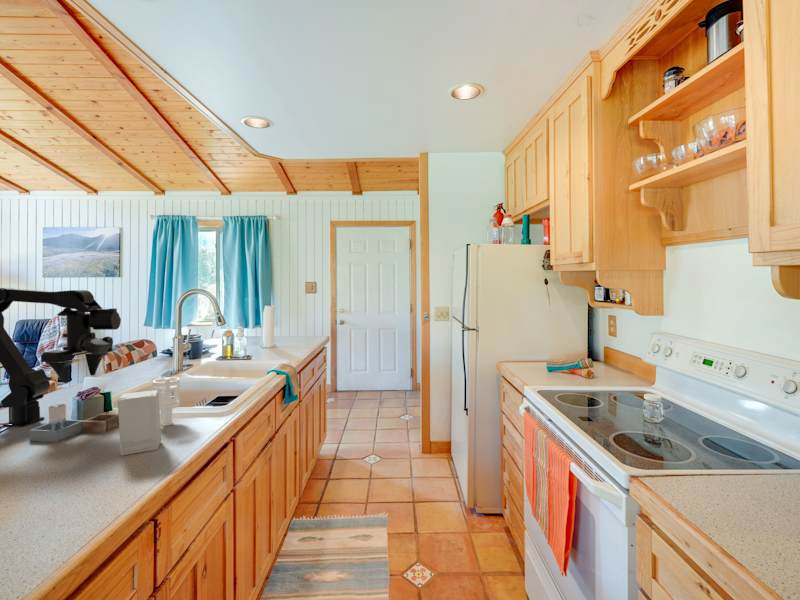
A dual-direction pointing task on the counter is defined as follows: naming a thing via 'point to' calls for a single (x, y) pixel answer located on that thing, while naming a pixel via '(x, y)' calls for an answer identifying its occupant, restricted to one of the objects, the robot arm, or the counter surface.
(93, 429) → the socket block
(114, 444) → the counter surface
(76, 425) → the tray
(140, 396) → the skincare box
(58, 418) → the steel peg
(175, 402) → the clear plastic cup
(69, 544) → the counter surface
